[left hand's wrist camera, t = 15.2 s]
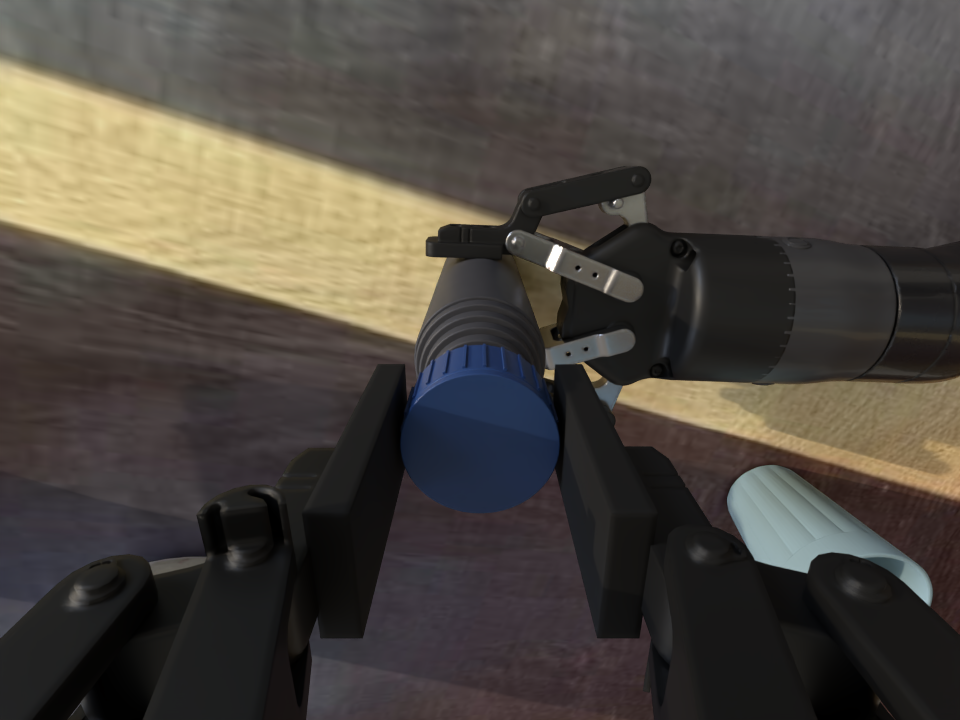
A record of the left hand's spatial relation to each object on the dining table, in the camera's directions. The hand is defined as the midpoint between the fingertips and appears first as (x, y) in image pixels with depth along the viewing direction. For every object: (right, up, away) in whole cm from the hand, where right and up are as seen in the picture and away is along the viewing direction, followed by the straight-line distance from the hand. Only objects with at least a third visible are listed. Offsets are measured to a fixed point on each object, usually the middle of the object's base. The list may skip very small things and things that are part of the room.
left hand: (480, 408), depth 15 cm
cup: (+21, -9, +24) cm, 33 cm away
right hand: (-3, +5, +12) cm, 13 cm away
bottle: (0, +7, +18) cm, 19 cm away
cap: (0, -1, -2) cm, 2 cm away
